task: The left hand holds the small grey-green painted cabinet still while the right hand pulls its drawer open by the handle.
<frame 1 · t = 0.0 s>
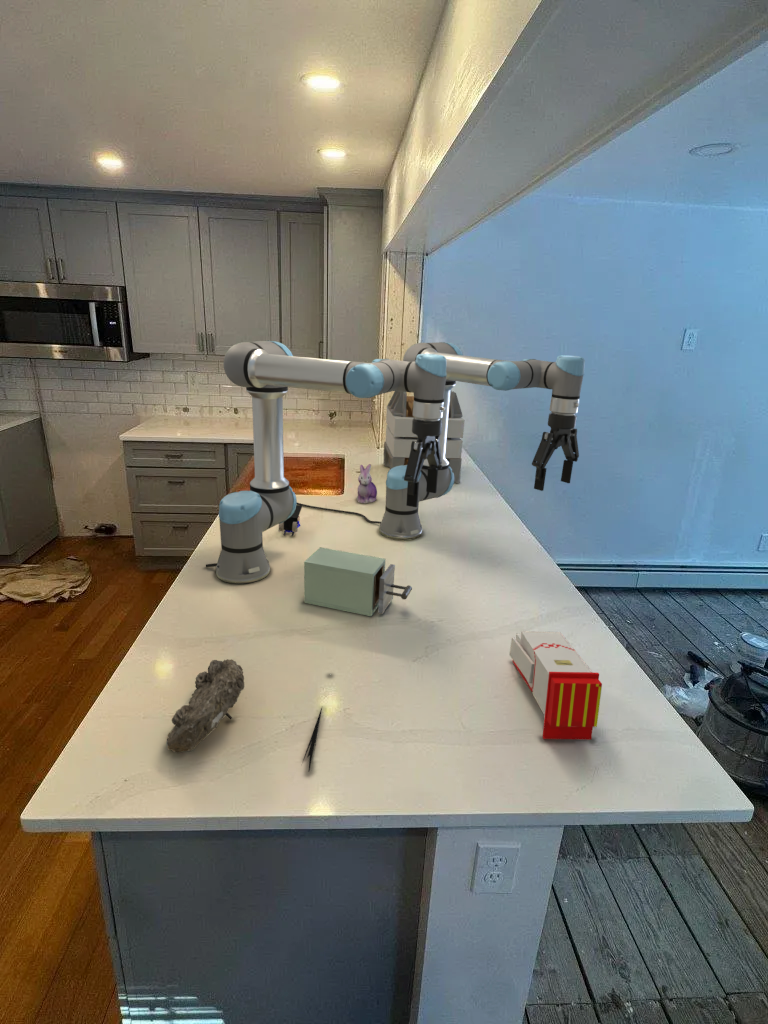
left hand: (422, 499, 149), 28 cm above the counter, tool pointing down, fingers open, 13 cm apart
right hand: (552, 485, 166), 28 cm above the counter, tool pointing down, fingers open, 13 cm apart
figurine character: (290, 530, 198), on the counter
toy: (545, 693, 119), on the counter
fossil: (212, 717, 108), on the counter
figurine: (366, 500, 233), on the counter
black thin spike: (319, 719, 109), on the counter
drawer: (367, 584, 149), point 6 cm above the counter, slide at 1.6 cm
cabinet: (344, 600, 153), on the counter
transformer: (419, 473, 275), on the counter
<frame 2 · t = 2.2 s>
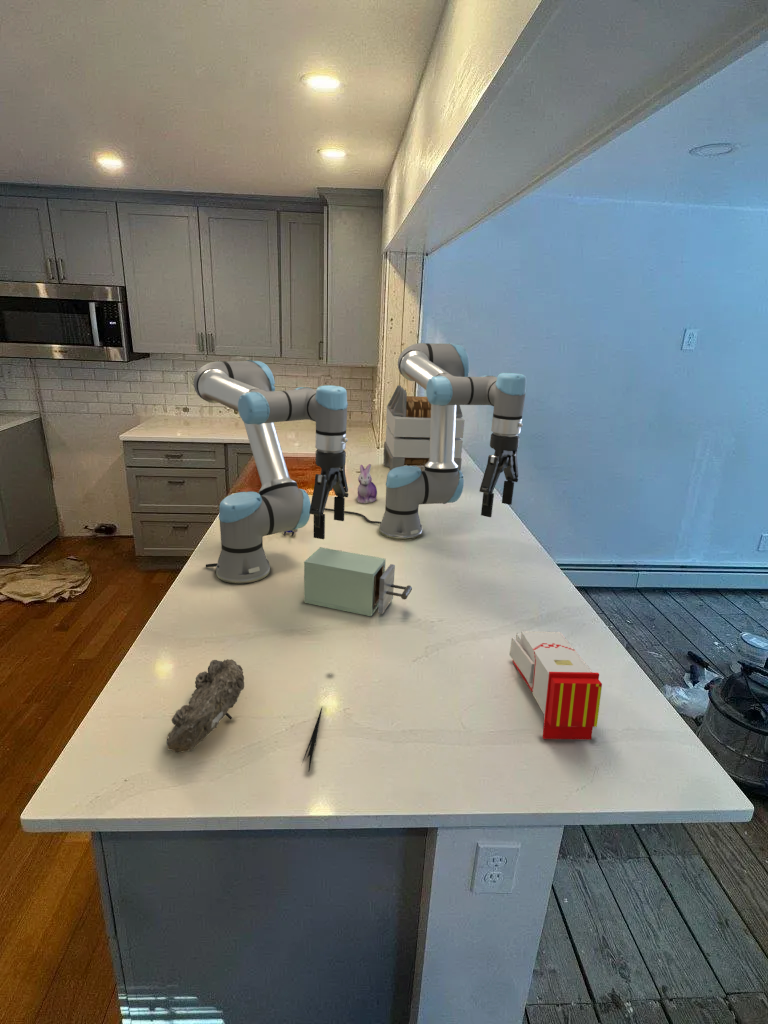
left hand: (329, 528, 148), 20 cm above the counter, tool pointing down, fingers open, 13 cm apart
right hand: (496, 509, 156), 24 cm above the counter, tool pointing down, fingers open, 13 cm apart
nothing on the counter moved.
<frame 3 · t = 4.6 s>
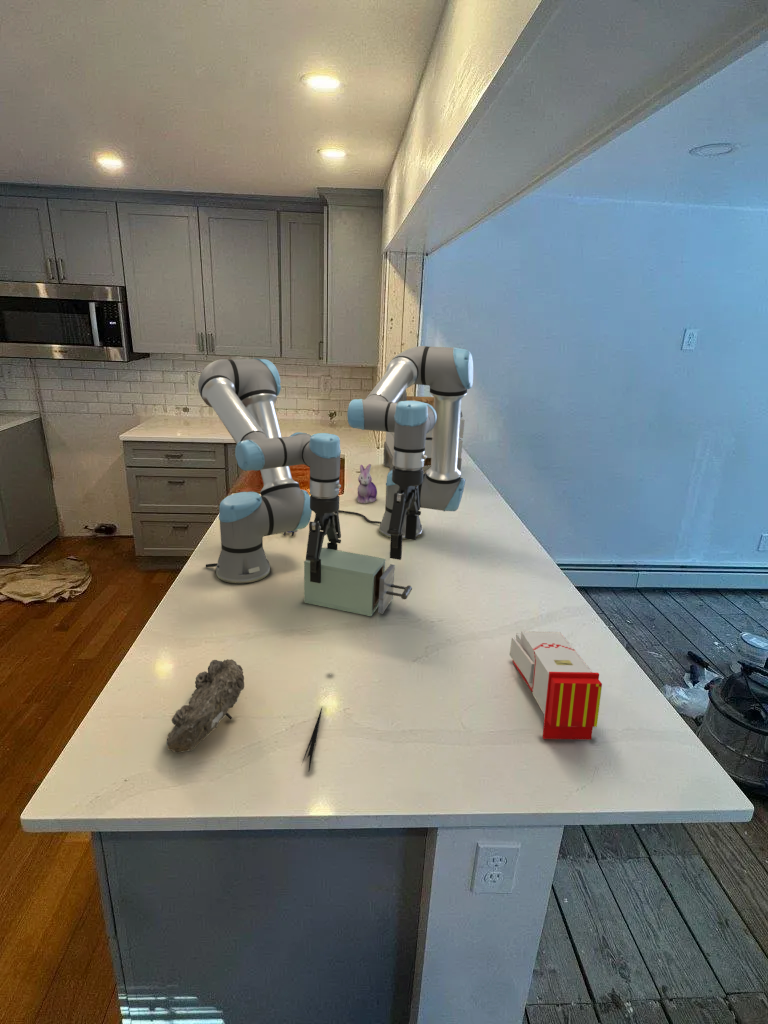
left hand: (324, 573, 152), 7 cm above the counter, tool pointing down, fingers closed on cabinet, 10 cm apart
right hand: (403, 548, 143), 18 cm above the counter, tool pointing down, fingers open, 13 cm apart
cabinet: (344, 600, 153), on the counter, touching left hand
everything else where it was.
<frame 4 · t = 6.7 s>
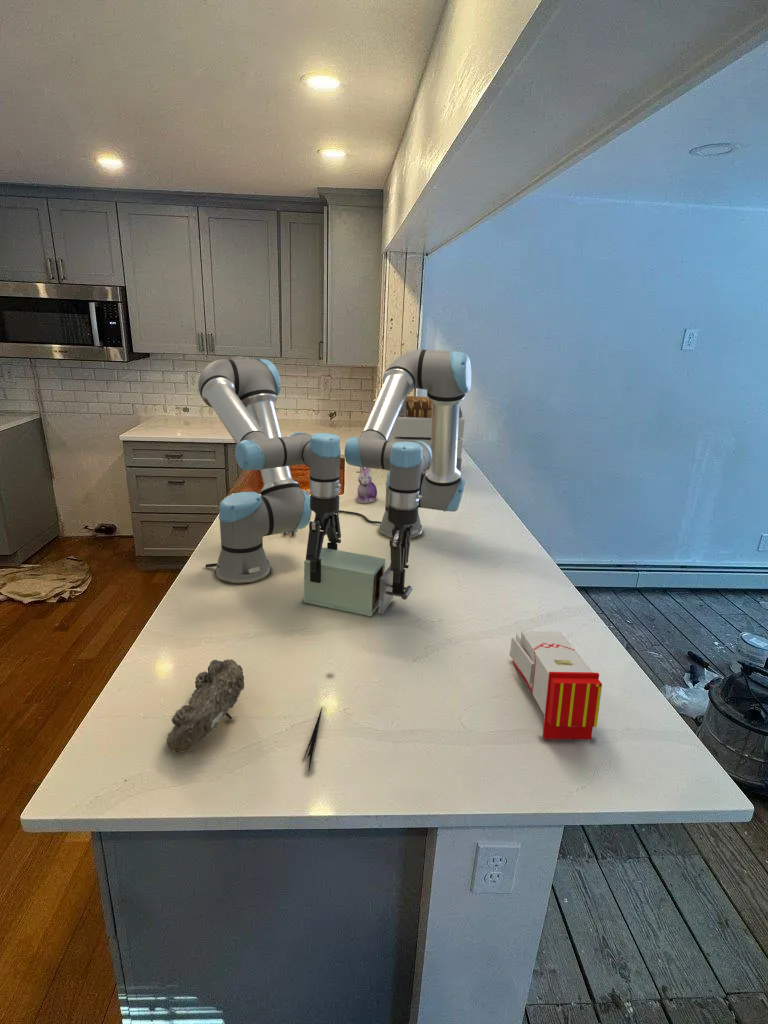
left hand: (324, 573, 152), 7 cm above the counter, tool pointing down, fingers closed on cabinet, 10 cm apart
right hand: (398, 592, 147), 6 cm above the counter, tool pointing down, fingers closed
cabinet: (344, 600, 153), on the counter, touching left hand
everything else where it was.
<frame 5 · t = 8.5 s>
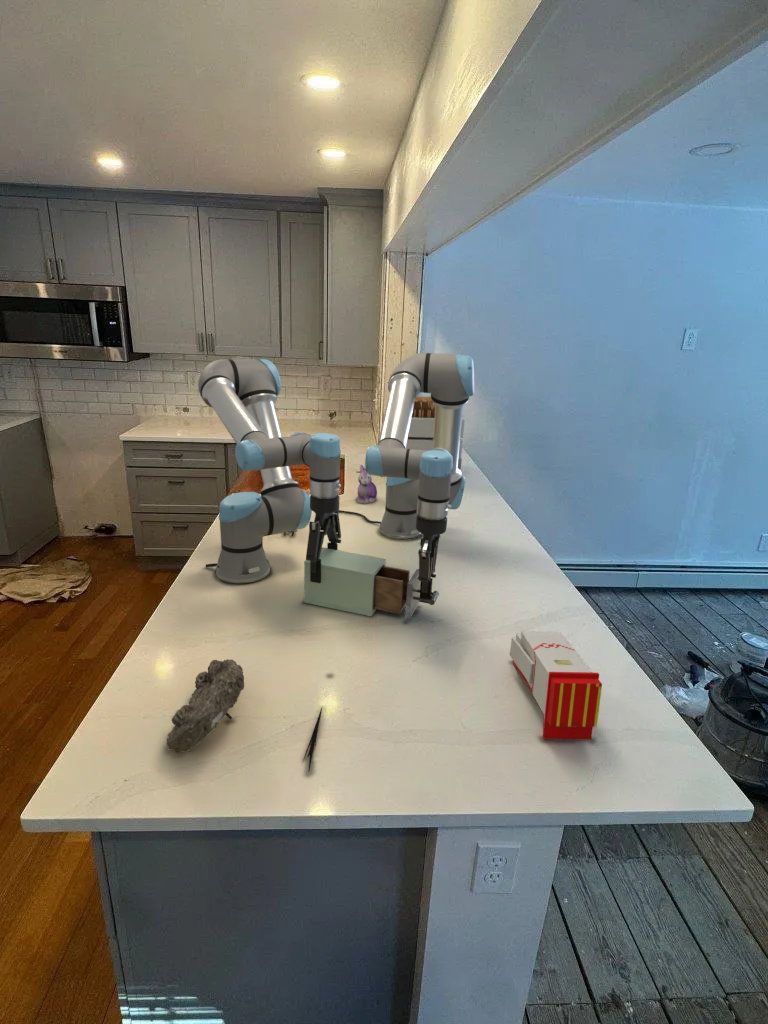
left hand: (324, 573, 152), 7 cm above the counter, tool pointing down, fingers closed on cabinet, 10 cm apart
right hand: (424, 601, 145), 4 cm above the counter, tool pointing down, fingers closed
drawer: (393, 589, 147), point 6 cm above the counter, slide at 8.8 cm, touching right hand
cabinet: (344, 600, 153), on the counter, touching left hand
everything else where it was.
when the left hand's fingers open (7 cm above the counter, at t = 10.1 s): cabinet stays where it is, on the counter.
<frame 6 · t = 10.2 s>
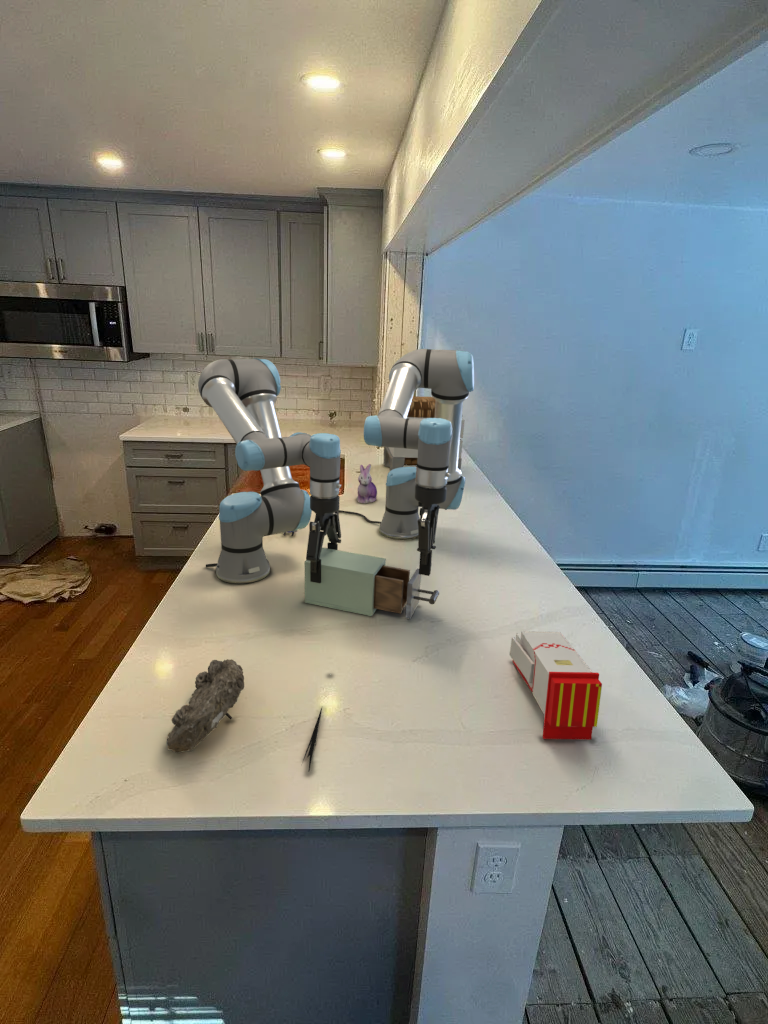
left hand: (324, 573, 152), 7 cm above the counter, tool pointing down, fingers open, 10 cm apart
right hand: (424, 573, 143), 12 cm above the counter, tool pointing down, fingers closed
drawer: (393, 589, 147), point 6 cm above the counter, slide at 8.8 cm
cabinet: (344, 600, 153), on the counter
everything else where it was.
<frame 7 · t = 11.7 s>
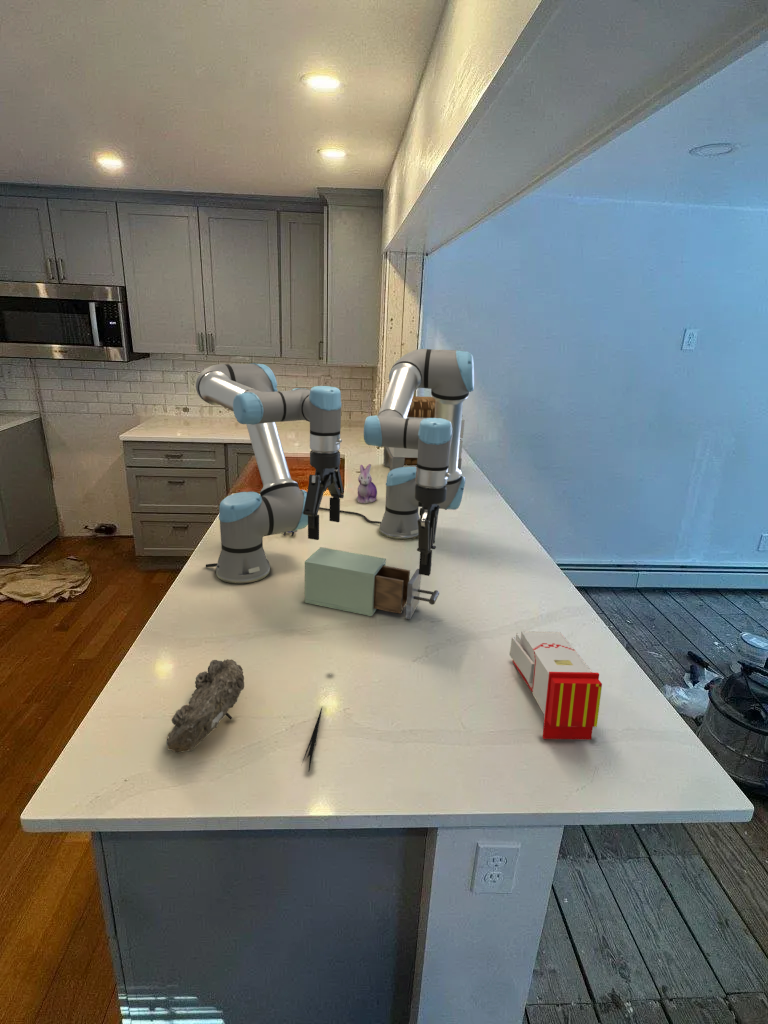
left hand: (324, 529, 148), 20 cm above the counter, tool pointing down, fingers open, 13 cm apart
right hand: (424, 573, 143), 12 cm above the counter, tool pointing down, fingers closed
nothing on the counter moved.
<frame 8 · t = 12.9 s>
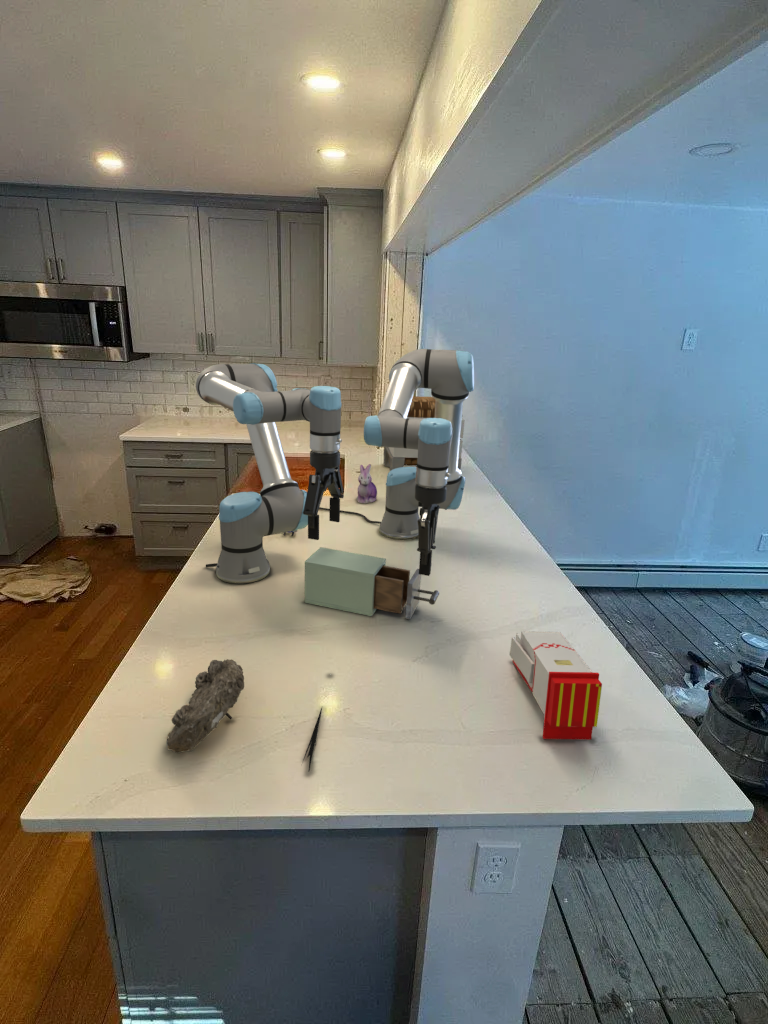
left hand: (324, 529, 148), 20 cm above the counter, tool pointing down, fingers open, 13 cm apart
right hand: (424, 573, 143), 12 cm above the counter, tool pointing down, fingers closed
nothing on the counter moved.
at the end: drawer slide at 8.8 cm; cabinet tilted 0°; cabinet never tilted more than 1° during the clip; cabinet moved 0.1 cm from its start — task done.
